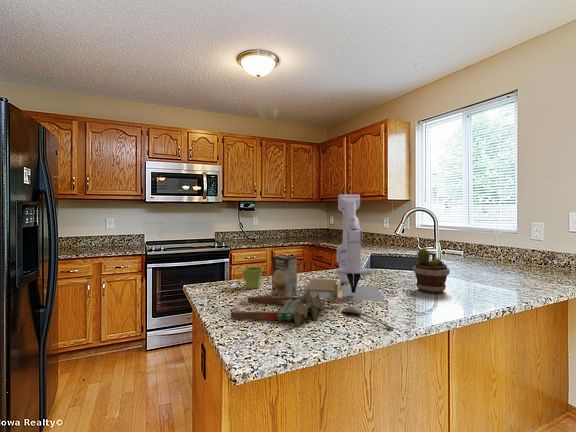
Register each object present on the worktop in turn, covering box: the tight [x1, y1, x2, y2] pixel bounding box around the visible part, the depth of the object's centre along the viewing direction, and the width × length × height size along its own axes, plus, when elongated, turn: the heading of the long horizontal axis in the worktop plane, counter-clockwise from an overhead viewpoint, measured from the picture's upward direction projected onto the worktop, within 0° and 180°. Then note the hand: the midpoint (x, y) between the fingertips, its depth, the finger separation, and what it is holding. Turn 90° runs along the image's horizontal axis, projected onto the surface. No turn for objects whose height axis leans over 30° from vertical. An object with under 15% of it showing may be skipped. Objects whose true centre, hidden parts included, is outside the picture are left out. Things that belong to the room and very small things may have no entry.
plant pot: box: [242, 266, 264, 290], centre depth 145 cm, size 9×9×9 cm
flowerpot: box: [412, 246, 451, 295], centre depth 140 cm, size 14×15×20 cm
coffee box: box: [271, 254, 298, 297], centre depth 133 cm, size 9×6×16 cm
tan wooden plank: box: [334, 278, 340, 297], centre depth 132 cm, size 12×1×5 cm, turn 165°
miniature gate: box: [230, 289, 326, 328], centre depth 111 cm, size 27×6×30 cm
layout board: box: [302, 276, 386, 302], centre depth 135 cm, size 22×32×6 cm
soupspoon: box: [340, 306, 394, 331], centre depth 104 cm, size 22×3×7 cm
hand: (353, 292), depth 130 cm, fingers closed
